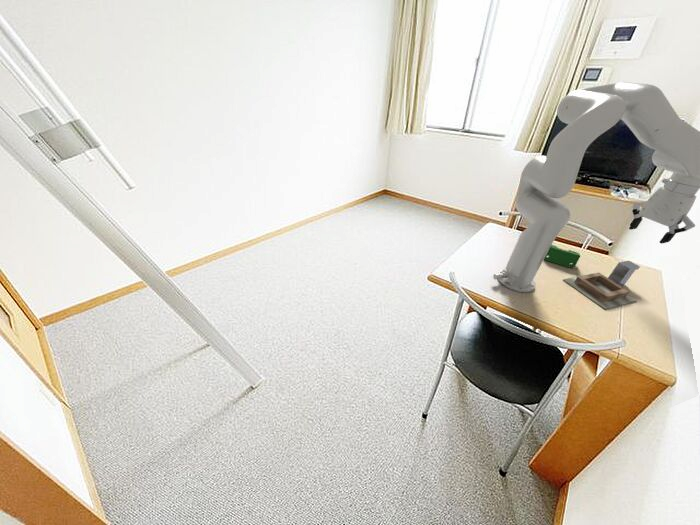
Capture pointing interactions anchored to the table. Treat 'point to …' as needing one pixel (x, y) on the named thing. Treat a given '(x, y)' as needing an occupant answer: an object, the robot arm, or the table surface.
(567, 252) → the green rectangular block
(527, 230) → the robot arm
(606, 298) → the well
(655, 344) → the table surface
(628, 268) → the grey angular block
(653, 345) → the table surface
